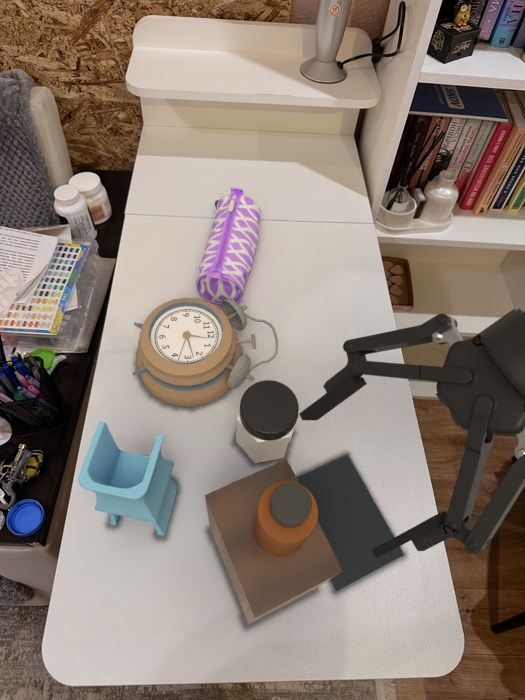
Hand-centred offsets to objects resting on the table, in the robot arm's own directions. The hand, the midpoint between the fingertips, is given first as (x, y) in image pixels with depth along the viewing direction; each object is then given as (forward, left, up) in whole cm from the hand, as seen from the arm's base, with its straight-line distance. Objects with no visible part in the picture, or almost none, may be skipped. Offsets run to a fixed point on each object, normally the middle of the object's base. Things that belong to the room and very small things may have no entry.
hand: (341, 480), depth 47 cm
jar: (+16, -2, -30) cm, 34 cm away
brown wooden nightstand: (0, +6, -30) cm, 30 cm away
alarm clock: (+32, +1, -30) cm, 44 cm away
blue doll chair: (+14, +18, -30) cm, 38 cm away
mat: (0, -7, -30) cm, 30 cm away
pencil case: (+50, -11, -30) cm, 59 cm away
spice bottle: (0, +5, -10) cm, 11 cm away
